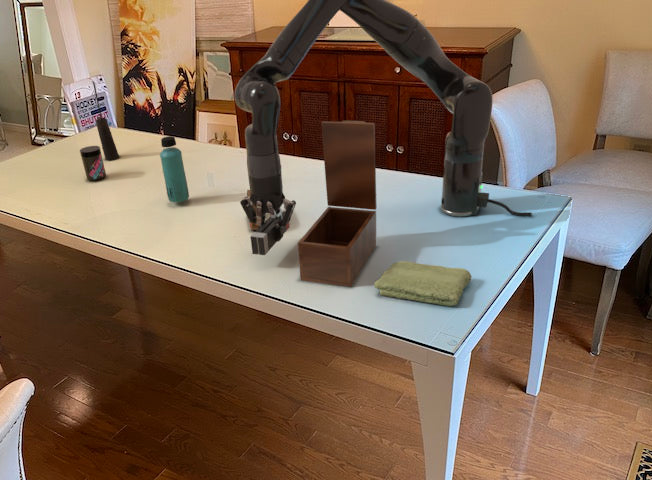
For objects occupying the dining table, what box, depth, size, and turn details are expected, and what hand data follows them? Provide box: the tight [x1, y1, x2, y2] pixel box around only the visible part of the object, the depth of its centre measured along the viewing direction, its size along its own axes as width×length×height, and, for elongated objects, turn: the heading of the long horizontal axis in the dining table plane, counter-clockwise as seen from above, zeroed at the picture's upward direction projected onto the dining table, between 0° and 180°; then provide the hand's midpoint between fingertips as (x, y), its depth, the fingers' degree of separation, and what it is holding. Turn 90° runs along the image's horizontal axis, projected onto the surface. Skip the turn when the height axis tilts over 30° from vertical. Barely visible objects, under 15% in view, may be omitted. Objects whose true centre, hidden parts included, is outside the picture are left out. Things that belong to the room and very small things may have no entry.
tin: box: [246, 189, 258, 231], centre depth 166 cm, size 15×3×8 cm, turn 5°
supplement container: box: [79, 145, 107, 183], centre depth 210 cm, size 7×7×10 cm
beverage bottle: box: [159, 135, 190, 203], centre depth 181 cm, size 6×7×20 cm
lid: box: [320, 120, 377, 211], centre depth 143 cm, size 21×12×5 cm
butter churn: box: [92, 81, 120, 162], centre depth 224 cm, size 9×10×28 cm
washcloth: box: [373, 260, 473, 307], centre depth 131 cm, size 13×18×3 cm
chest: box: [297, 206, 377, 288], centre depth 142 cm, size 20×12×9 cm, turn 155°
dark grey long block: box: [250, 210, 290, 256], centre depth 148 cm, size 15×3×5 cm, turn 155°
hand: (271, 238), depth 149 cm, fingers closed on dark grey long block, 3 cm apart
